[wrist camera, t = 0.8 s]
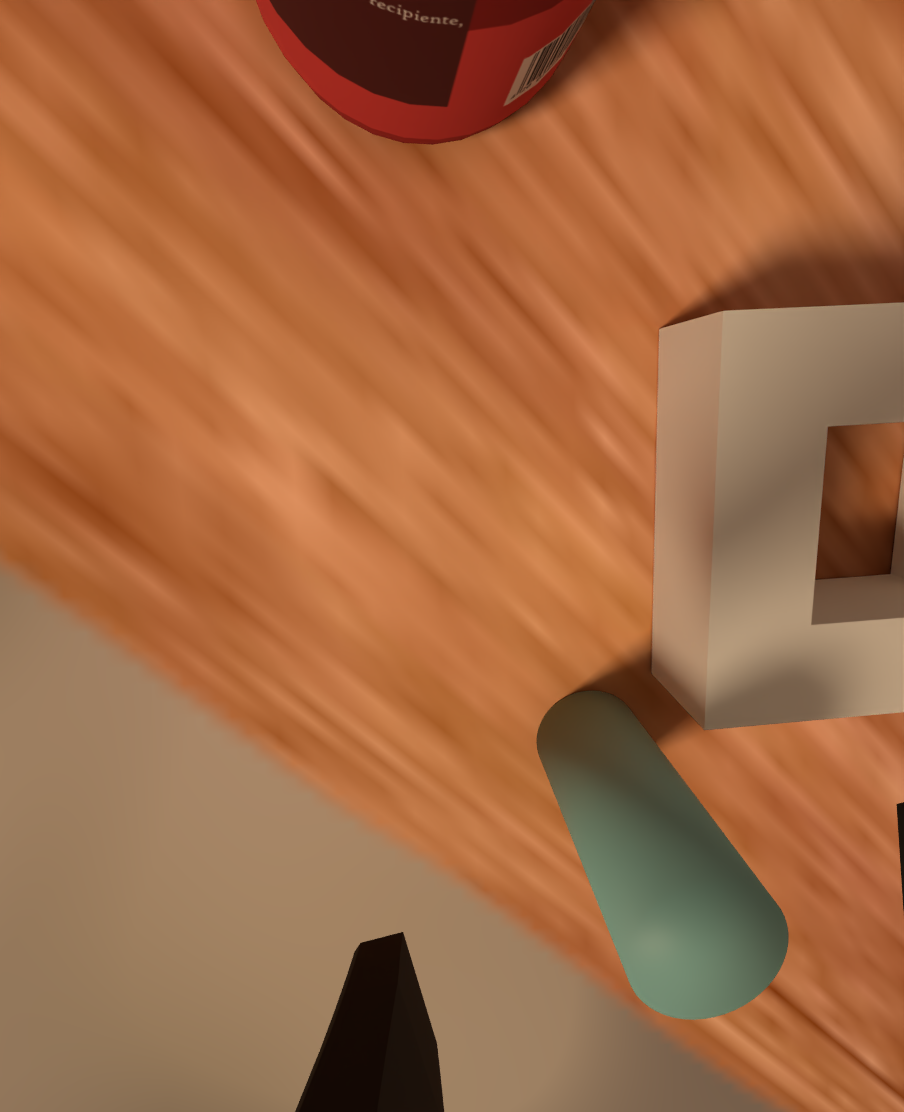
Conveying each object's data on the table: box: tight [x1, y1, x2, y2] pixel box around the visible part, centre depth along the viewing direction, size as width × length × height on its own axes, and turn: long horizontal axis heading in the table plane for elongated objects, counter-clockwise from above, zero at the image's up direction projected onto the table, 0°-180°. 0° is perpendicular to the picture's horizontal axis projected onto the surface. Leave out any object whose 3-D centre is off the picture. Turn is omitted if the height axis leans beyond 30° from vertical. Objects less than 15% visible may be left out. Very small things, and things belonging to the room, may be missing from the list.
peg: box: [537, 691, 788, 1019], centre depth 16 cm, size 3×3×8 cm
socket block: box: [651, 302, 904, 730], centre depth 17 cm, size 10×10×4 cm
